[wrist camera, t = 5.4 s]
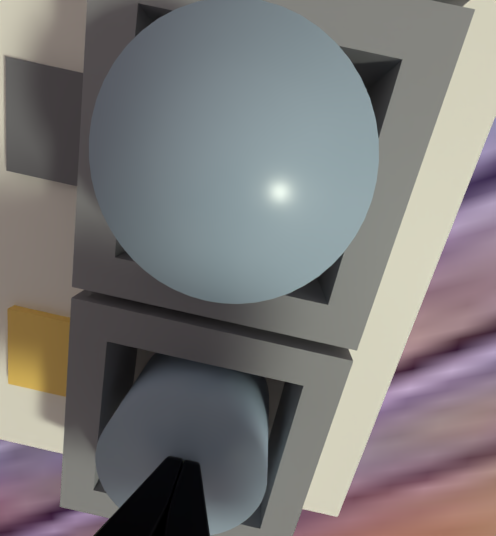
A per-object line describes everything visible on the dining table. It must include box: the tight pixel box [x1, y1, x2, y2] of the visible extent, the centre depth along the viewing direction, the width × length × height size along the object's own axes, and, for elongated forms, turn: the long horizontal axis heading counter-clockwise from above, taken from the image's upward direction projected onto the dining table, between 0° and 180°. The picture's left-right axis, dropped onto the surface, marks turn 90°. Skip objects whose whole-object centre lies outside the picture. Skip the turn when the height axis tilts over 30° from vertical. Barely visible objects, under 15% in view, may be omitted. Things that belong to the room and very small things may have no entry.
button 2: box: [89, 0, 379, 304], centre depth 6 cm, size 4×4×3 cm
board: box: [0, 0, 496, 536], centre depth 9 cm, size 14×24×3 cm, turn 168°
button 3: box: [95, 353, 269, 535], centre depth 10 cm, size 4×4×3 cm
